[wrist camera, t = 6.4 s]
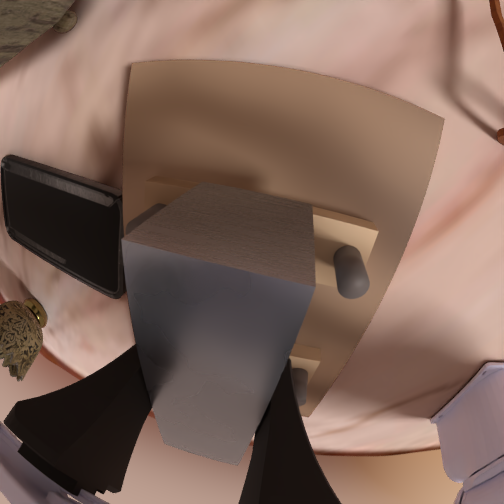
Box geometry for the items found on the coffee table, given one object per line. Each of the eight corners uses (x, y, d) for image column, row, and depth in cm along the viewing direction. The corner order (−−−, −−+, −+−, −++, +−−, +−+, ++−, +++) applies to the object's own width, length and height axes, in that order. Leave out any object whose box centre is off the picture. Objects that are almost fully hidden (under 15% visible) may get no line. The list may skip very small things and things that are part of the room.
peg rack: (309, 405, 20) (305, 448, 16) (150, 363, 21) (129, 400, 17) (433, 118, 9) (482, 123, 5) (145, 66, 10) (90, 56, 7)
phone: (0, 155, 14) (127, 198, 13) (9, 151, 14) (138, 192, 14) (7, 236, 17) (122, 305, 17) (14, 231, 18) (130, 296, 18)
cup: (28, 271, 20) (-24, 317, 13) (70, 330, 22) (26, 383, 15) (14, 291, 23) (-26, 329, 16) (49, 339, 25) (14, 381, 18)
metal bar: (255, 394, 15) (237, 465, 11) (192, 377, 15) (164, 443, 11) (312, 204, 9) (315, 287, 5) (202, 181, 10) (121, 239, 5)
